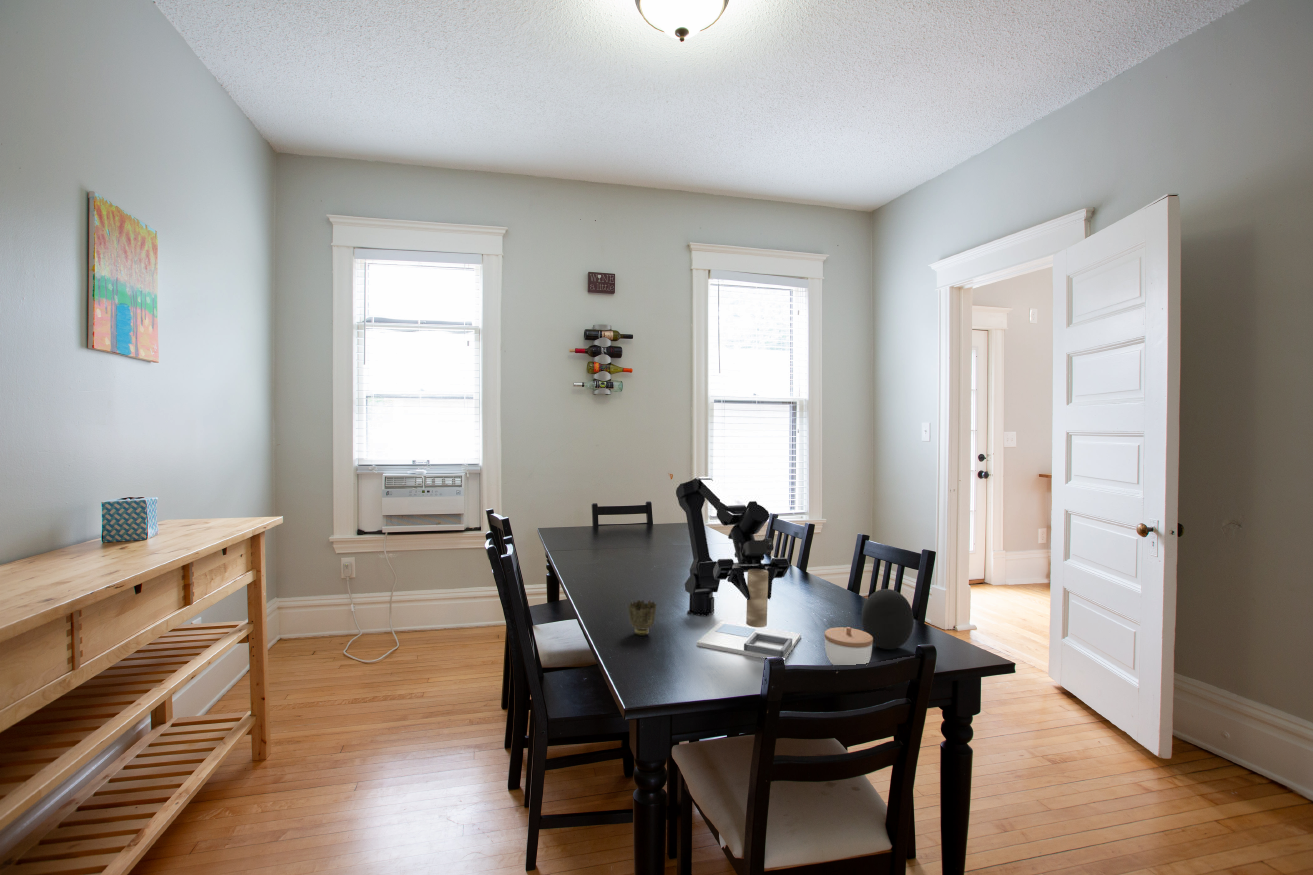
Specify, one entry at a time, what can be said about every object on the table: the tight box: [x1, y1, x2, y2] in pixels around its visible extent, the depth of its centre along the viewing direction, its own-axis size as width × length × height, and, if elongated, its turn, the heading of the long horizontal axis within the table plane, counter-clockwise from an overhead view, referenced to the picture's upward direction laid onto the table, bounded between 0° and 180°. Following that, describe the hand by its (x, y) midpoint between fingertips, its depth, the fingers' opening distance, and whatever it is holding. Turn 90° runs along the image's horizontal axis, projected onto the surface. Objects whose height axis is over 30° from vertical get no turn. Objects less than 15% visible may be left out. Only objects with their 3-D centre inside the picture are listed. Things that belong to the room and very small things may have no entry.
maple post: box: [745, 569, 769, 628], centre depth 148 cm, size 5×5×13 cm
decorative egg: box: [861, 588, 915, 650], centre depth 153 cm, size 12×12×15 cm
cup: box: [628, 599, 657, 636], centre depth 160 cm, size 8×7×8 cm
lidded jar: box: [824, 626, 873, 666], centre depth 140 cm, size 11×11×9 cm
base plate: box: [696, 620, 802, 660], centre depth 156 cm, size 22×19×2 cm
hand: (759, 598), depth 147 cm, fingers closed on maple post, 5 cm apart
